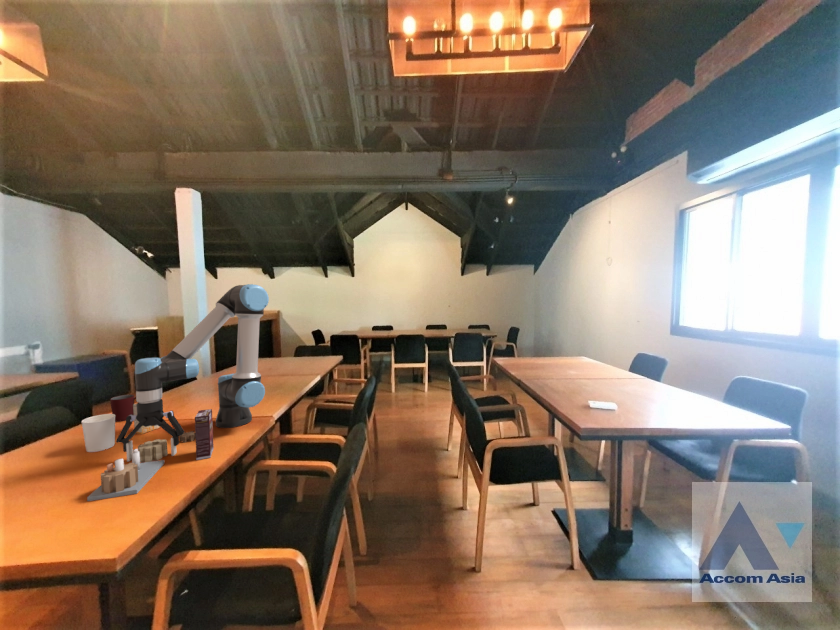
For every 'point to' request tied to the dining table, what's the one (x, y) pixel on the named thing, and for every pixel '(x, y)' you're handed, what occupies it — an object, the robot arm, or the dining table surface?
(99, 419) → the candle holder
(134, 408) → the supplement box
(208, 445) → the supplement box
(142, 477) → the gear board
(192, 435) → the gear
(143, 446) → the maple gear
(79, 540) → the dining table surface
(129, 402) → the mug
